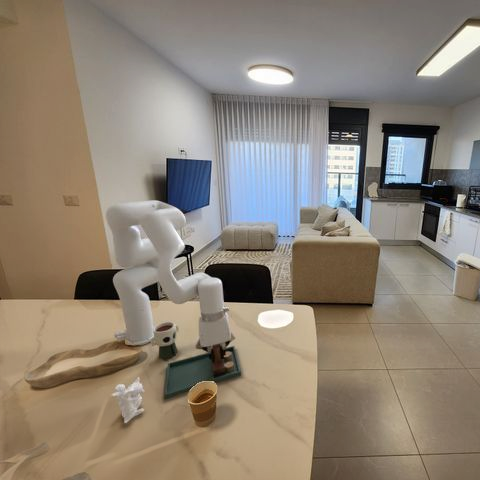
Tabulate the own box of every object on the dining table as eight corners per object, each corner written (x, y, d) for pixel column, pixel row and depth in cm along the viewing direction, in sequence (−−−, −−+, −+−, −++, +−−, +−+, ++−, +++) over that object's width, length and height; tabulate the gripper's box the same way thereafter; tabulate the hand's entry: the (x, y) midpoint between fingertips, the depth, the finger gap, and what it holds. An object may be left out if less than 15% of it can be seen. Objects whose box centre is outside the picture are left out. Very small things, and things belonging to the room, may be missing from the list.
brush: (213, 377, 90) (211, 355, 87) (211, 359, 99) (209, 338, 96) (225, 374, 92) (223, 352, 89) (222, 356, 100) (220, 336, 98)
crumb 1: (223, 362, 97) (223, 357, 97) (223, 356, 100) (222, 352, 99) (232, 359, 98) (231, 355, 98) (231, 354, 101) (230, 350, 101)
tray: (165, 400, 82) (164, 395, 81) (168, 368, 95) (167, 363, 94) (241, 376, 92) (240, 371, 91) (234, 350, 105) (234, 345, 104)
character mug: (161, 368, 95) (156, 337, 91) (148, 362, 98) (143, 332, 94) (187, 350, 104) (183, 321, 101) (175, 345, 107) (171, 317, 104)
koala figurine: (127, 431, 72) (119, 396, 69) (109, 424, 74) (100, 390, 71) (153, 405, 80) (147, 373, 77) (136, 400, 82) (130, 368, 79)
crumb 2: (225, 373, 92) (225, 368, 91) (224, 367, 95) (224, 363, 94) (234, 370, 93) (234, 365, 93) (233, 364, 96) (232, 360, 95)
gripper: (235, 303, 96) (239, 346, 101) (186, 313, 89) (192, 358, 94) (239, 313, 89) (242, 358, 94) (186, 325, 83) (192, 372, 87)
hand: (217, 358), depth 94 cm, fingers closed on brush, 3 cm apart
